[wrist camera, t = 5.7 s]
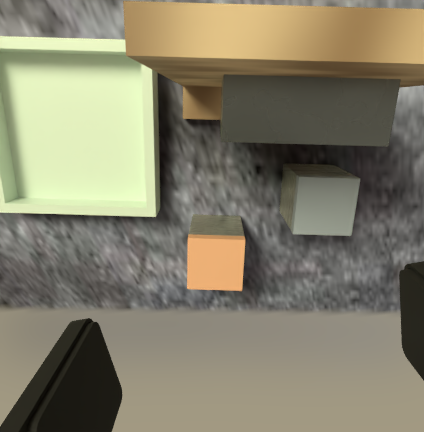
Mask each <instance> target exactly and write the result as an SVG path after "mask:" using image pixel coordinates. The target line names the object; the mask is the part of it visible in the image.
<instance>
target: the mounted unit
mask: <svg viewBox="0 0 424 432" xmlns="http://www.w3.org/2000/svg"><path fill="white" fill-rule="evenodd" d="M123 4H124V25H125V46H126V56H128V57H130V58H131V59H133V60H135V61H137V62H139V63H141V64H143V65H145V66H146V67H148V68H150V69H152V70H154V71H156V72H158V73H159V74H161V75H163V76H165V77H167V78H169V79H171V80H173V81H174V82H176V83H178V84H180V85H182V86H183V119H209V120H220V134H221V142H246V143H280V144H315V145H350V146H385V147H388V146H389V140H390V135H391V130H392V124H393V119H394V113H395V108H396V103H397V97H398V92H399V87H409V86H420V85H424V9H394V8H357V7H321V6H284V5H247V4H211V3H174V2H137V1H123Z"/></svg>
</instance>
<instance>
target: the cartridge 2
mask: <svg viewBox="0 0 424 432" xmlns="http://www.w3.org/2000/svg"><path fill="white" fill-rule="evenodd" d="M359 185H360V178H358V177H356V176H354V175H352V174H350V173H348V172H347V171H345V170H343V169H341V168H339V167H337V166H335V165H326V164H291V163H284V166H283V176H282V187H281V198H280V209H279V211H280V213H281V214H282V216H283V218H284V220H285V221H286V223H287V225H288V226H289V228H290V230H291V231H292V233H293V234H304V235H338V236H351V234H352V228H353V222H354V216H355V210H356V203H357V197H358V191H359Z"/></svg>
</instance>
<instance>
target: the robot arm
mask: <svg viewBox="0 0 424 432" xmlns="http://www.w3.org/2000/svg"><path fill="white" fill-rule="evenodd" d="M399 279H400V306H401V334H402V348H403V351H404V354H405V356H406V357H407V359H408V360H409V361H410V363H411V364H412V366H413V367H414V368H415V369H416V371H417V372H418V374H419V375H420V376H421V377H422V379H423V380H424V261H423V262H418V263H412V264H407V265H406V266H405V269H404V270H401V271H400V274H399ZM121 400H122V388H121V385H120V382H119V379H118V377H117V374H116V371H115V368H114V365H113V363H112V360H111V357H110V354H109V351H108V349H107V346H106V343H105V340H104V337H103V335H102V332H101V329H100V326H99V324H98V323H97V322H93V321H92V319H90V318H88V319H82V320H76V321H72V322H70V324H69V325H68V326H67V328H66V329H65V331H64V332H63V334H62V335H61V337H60V338H59V340H58V341H57V343H56V344H55V346H54V347H53V349H52V350H51V352H50V353H49V355H48V356H47V358H46V359H45V361H44V362H43V364H42V365H41V367H40V368H39V370H38V371H37V373H36V374H35V376H34V377H33V379H32V380H31V381H30V383H29V384H28V386H27V387H26V389H25V390H24V392H23V394H22V395H21V397H20V398H19V399H18V401H17V402H16V404H15V405H14V407H13V408H12V410H11V411H10V413H9V414H8V416H7V417H6V419H5V420H4V422H3V423H2V425H1V426H0V432H112V429H113V426H114V422H115V419H116V416H117V413H118V410H119V407H120V404H121Z"/></svg>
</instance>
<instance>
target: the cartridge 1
mask: <svg viewBox="0 0 424 432" xmlns="http://www.w3.org/2000/svg"><path fill="white" fill-rule="evenodd" d="M244 253H245V236H244V231H243V227H242V222H241V218H240V216H229V215H198V214H193V216H192V221H191V226H190V230H189V235H188V274H187V289H202V290H232V291H242V284H243V268H244Z"/></svg>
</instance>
